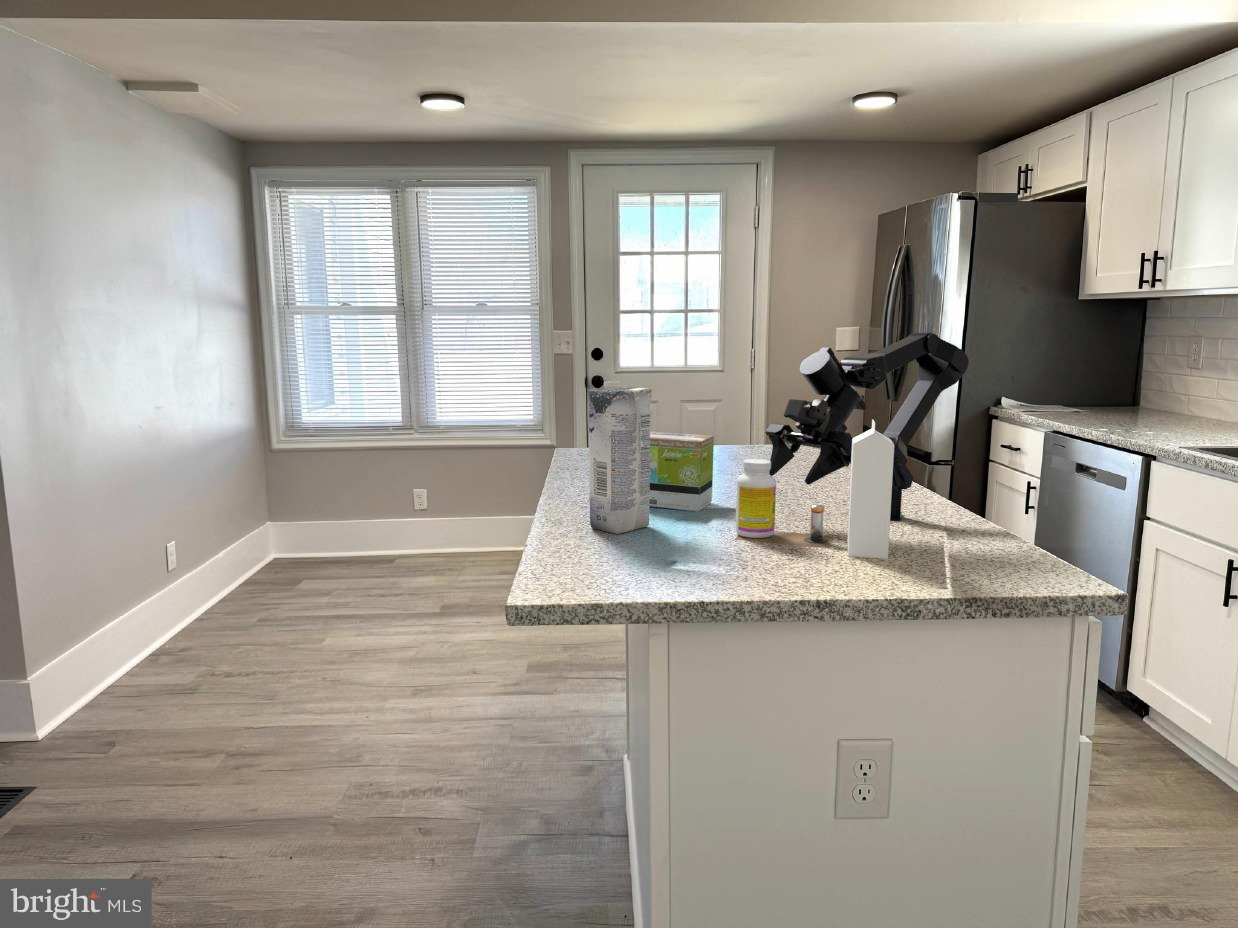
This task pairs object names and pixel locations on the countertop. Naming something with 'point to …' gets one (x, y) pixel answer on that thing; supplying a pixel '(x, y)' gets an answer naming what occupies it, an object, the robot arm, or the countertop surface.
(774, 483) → the supplement bottle
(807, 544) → the plate
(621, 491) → the juice carton
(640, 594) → the countertop surface
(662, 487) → the tea box
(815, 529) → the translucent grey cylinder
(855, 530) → the milk
